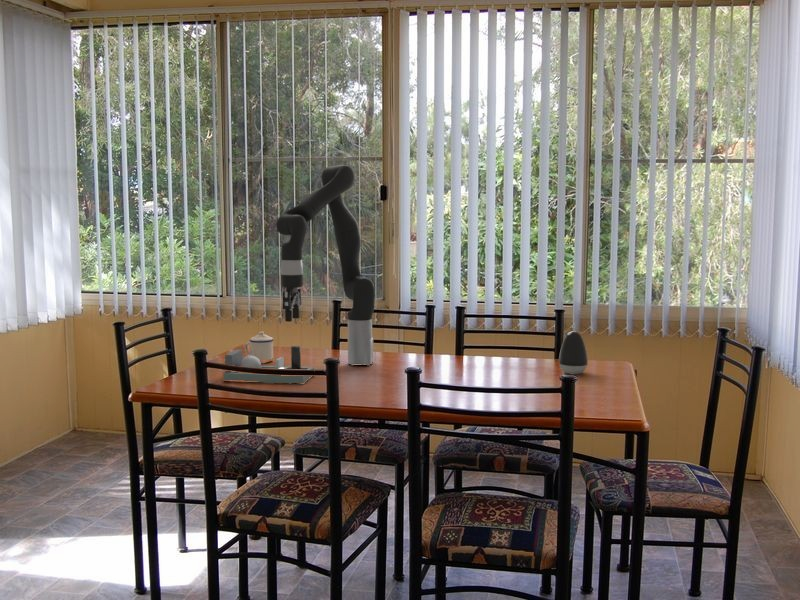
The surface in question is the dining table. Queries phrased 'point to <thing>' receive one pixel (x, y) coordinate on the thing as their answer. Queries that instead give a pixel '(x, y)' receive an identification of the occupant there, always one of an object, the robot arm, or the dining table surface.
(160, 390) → the dining table surface
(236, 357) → the press frame
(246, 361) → the bath bomb
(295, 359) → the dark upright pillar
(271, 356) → the teacup with lid
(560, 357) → the grey egg shaped speaker
